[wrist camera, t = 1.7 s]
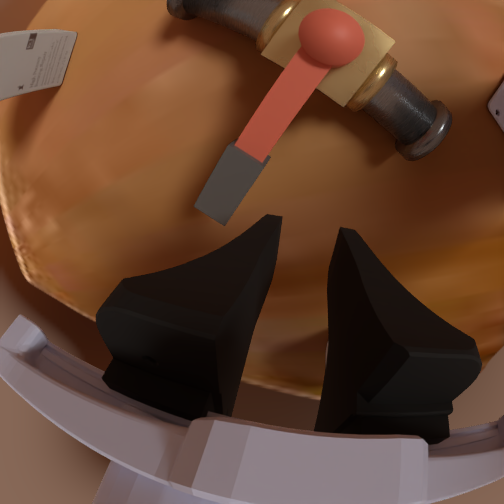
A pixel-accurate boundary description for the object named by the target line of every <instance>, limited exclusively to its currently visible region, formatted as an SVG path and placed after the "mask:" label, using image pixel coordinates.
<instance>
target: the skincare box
mask: <svg viewBox="0 0 504 504" xmlns="http://www.w3.org/2000/svg"><path fill="white" fill-rule="evenodd" d="M76 37H77V32H71V31H65V30H58V29H44V30H27V31H17V32H9V33H2V34H0V101H1V100H4V99H8V98H11V97H14V96H18V95H22V94H25V93H29V92H33V91H37V90H42V89H46V88H51V87H57V86H60V85H61V84H62V81H63V78H64V74H65V71H66V68H67V65H68V62H69V59H70V55H71V52H72V49H73V46H74V43H75V40H76Z"/></svg>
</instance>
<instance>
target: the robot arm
mask: <svg viewBox="0 0 504 504" xmlns="http://www.w3.org/2000/svg"><path fill="white" fill-rule="evenodd" d="M488 109H489V111H490V113H491V114H492V115H493V117H494V118H495V120H496V121H497V123H498V124H499V126H500V127H501V129H502V131H503V132H504V81H503V82H502V84H501V85H500V87H499V88H498V90H497V91H496V93H495V94H494V95H493V97H492V98H491V100H490V101H489V103H488ZM496 110H497V111H498V114H497V115H496ZM281 224H282V217H281V216H275V215H269V214H267V215H265V216H264V217H262V218H261V219H260V220H259V221H258V222H256V223H255V224H254V225H253V226H252V227H250V228H249V229H248V230H246V231H245V232H244V233H242V234H241V235H240V236H238V237H237V238H235V239H234V240H232V241H231V242H229V243H228V244H226V245H224V246H223V247H221V248H219V249H217V250H215V251H213V252H211V253H209V254H207V255H205V256H203V257H200V258H198V259H195V260H193V261H190V262H188V263H185V264H182V265H179V266H176V267H173V268H170V269H166V270H163V271H159V272H155V273H151V274H146V275H141V276H136V277H131V278H124V279H123V280H122V281H121V282H120V283H119V284H118V286H117V287H116V288H115V289H114V291H113V292H112V293H111V294H110V296H109V297H108V298H107V299H106V301H105V302H104V303H103V305H102V306H101V307H100V309H99V310H98V312H97V314H96V324H97V327H98V330H99V332H100V334H101V336H102V338H103V340H104V342H105V344H106V346H107V347H108V349H109V351H110V353H111V354H112V356H113V360H112V361H111V363H110V364H109V366H108V368H107V369H106V371H105V372H104V371H101V370H100V369H98V368H96V367H94V366H92V365H90V364H88V363H86V362H84V361H82V360H80V359H78V358H77V357H75V356H73V355H71V354H69V353H68V352H66V351H64V350H63V349H61V348H59V347H57V346H56V345H54V344H53V343H51V342H49V341H48V338H47V337H46V335H45V333H44V332H43V331H42V329H41V328H40V327H39V326H38V325H37V324H35V323H34V322H32V321H31V320H29V319H28V318H26V317H25V316H23V315H19V316H18V317H17V318H16V319H15V321H14V322H13V323H12V325H11V326H10V327H9V328H8V330H7V331H6V332H5V333H4V335H3V336H2V337H1V339H0V377H1V378H3V380H4V381H5V382H6V383H7V384H8V385H9V386H10V387H11V388H13V389H14V390H15V391H16V392H17V393H18V394H19V395H20V396H21V397H22V398H23V399H24V400H26V401H27V402H28V403H29V404H30V405H31V406H33V407H34V408H35V409H36V410H37V411H39V412H40V413H41V414H42V415H43V416H45V417H46V418H47V419H49V420H50V421H51V422H53V423H54V424H55V425H57V426H58V427H59V428H61V429H62V430H64V431H65V432H67V433H68V434H69V435H71V436H72V437H74V438H75V439H77V440H78V441H80V442H81V443H83V444H85V445H86V446H88V447H90V448H91V449H93V450H94V451H96V452H98V453H100V454H101V455H103V456H105V457H107V458H109V459H110V460H111V462H110V464H109V466H108V468H107V471H106V473H105V475H104V477H103V480H102V482H101V484H100V486H99V489H98V491H97V493H96V496H95V498H94V500H93V503H92V504H430V503H434V502H437V501H441V500H445V499H448V498H451V497H454V496H458V495H460V494H464V493H466V492H469V491H472V490H475V489H477V488H480V487H482V486H485V485H487V484H489V483H492V482H494V481H496V480H498V479H501V478H503V477H504V415H503V416H502V417H501V418H499V420H498V421H494V422H490V423H486V424H481V425H476V426H471V427H466V428H459V429H453V430H449V421H448V415H449V414H451V413H452V412H453V406H452V401H453V400H454V399H455V398H456V397H458V396H459V395H460V394H461V393H462V392H463V391H464V390H465V389H467V388H468V387H469V386H470V385H471V384H472V383H473V382H474V380H475V379H476V378H477V376H478V375H479V373H480V371H481V367H482V362H481V359H480V355H479V352H478V349H477V346H476V343H475V340H474V339H473V338H471V337H470V336H468V335H466V334H465V333H463V332H462V331H460V330H458V329H457V328H455V327H453V326H452V325H450V324H449V323H447V322H446V321H445V320H443V319H442V318H440V317H439V316H437V315H436V314H435V313H434V312H432V311H431V310H430V309H428V308H427V307H426V306H425V305H423V304H422V303H421V302H420V301H419V300H418V299H416V298H415V297H414V296H413V295H412V294H411V293H410V292H408V291H407V290H406V289H405V288H404V287H403V286H402V285H401V284H400V283H399V282H398V281H397V280H396V279H395V278H394V277H393V275H392V274H391V273H390V272H389V271H388V270H387V269H386V268H385V266H384V265H383V264H382V263H381V262H380V261H379V259H378V258H377V257H376V256H375V254H374V253H373V252H372V251H371V249H370V248H369V247H368V245H367V244H366V243H365V242H364V240H363V239H362V238H361V236H360V235H359V234H358V233H357V232H356V231H355V230H353V229H348V228H343V227H340V229H339V233H338V236H337V240H336V244H335V248H334V251H333V255H332V259H331V262H330V266H329V271H328V284H327V300H328V330H329V338H328V352H327V361H326V369H325V376H324V383H323V389H322V395H321V400H320V405H319V410H318V415H317V420H316V424H315V429H314V431H306V430H298V429H291V428H284V427H278V426H272V425H267V424H261V423H256V422H251V421H246V420H242V419H237V418H233V417H231V416H232V412H233V408H234V404H235V400H236V396H237V392H238V388H239V384H240V381H241V377H242V373H243V369H244V365H245V361H246V358H247V354H248V350H249V346H250V342H251V339H252V335H253V331H254V328H255V325H256V322H257V319H258V317H259V314H260V311H261V309H262V306H263V303H264V301H265V298H266V295H267V292H268V290H269V287H270V284H271V281H272V278H273V274H274V269H275V265H276V260H277V253H278V246H279V239H280V232H281Z"/></svg>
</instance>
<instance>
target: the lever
mask: <svg viewBox="0 0 504 504" xmlns="http://www.w3.org/2000/svg"><path fill="white" fill-rule="evenodd" d="M298 34H299V40H300V43H301V47H300V48H299V50H298V51H297V53H296V54H295V55H294V57H293V58H292V59H291V61H290V62H289V63H288V65H287V66H286V68H285V69H284V70H283V72H282V73H281V75H280V76H279V78H278V79H277V80H276V82H275V83H274V85H273V86H272V88H271V89H270V91H269V92H268V94H267V95H266V96H265V98H264V99H263V101H262V102H261V104H260V105H259V107H258V109H257V110H256V112H255V113H254V115H253V116H252V118H251V119H250V121H249V122H248V124H247V126H246V127H245V129H244V130H243V132H242V133H241V135H240V137H239V138H237V139H236V140H234V141H233V142H232V143H230V144H229V145H228V146H227V148H226V150H225V151H224V153H223V155H222V156H221V158H220V160H219V161H218V163H217V165H216V167H215V168H214V170H213V172H212V174H211V175H210V177H209V179H208V181H207V183H206V184H205V186H204V188H203V190H202V192H201V194H200V195H199V197H198V199H197V201H196V203H195V205H194V207H195V208H197V209H198V210H200V211H202V212H203V213H205V214H206V215H208V216H209V217H211V218H212V219H214V220H216V221H217V222H219V223H220V224H222V225H223V226H225V225H226V224H227V222H228V221H229V219H230V217H231V216H232V214H233V213H234V211H235V210H236V208H237V207H238V205H239V204H240V202H241V201H242V199H243V198H244V196H245V195H246V193H247V192H248V191H249V189H250V188H251V186H252V185H253V183H254V182H255V180H256V179H257V177H258V176H259V174H260V173H261V172H262V170H263V169H264V167H265V166H266V164H267V162H268V161H269V159H270V158H271V157H270V156H269V155H268V154H269V152H270V151H271V150H272V148H273V147H274V145H275V144H276V142H277V141H278V140H279V138H280V137H281V135H282V134H283V132H284V131H285V130H286V128H287V127H288V125H289V124H290V123H291V121H292V120H293V118H294V117H295V116H296V114H297V113H298V112H299V110H300V109H301V107H302V106H303V105H304V103H305V102H306V101H307V99H308V98H309V97H310V95H311V94H312V92H313V91H314V90H315V88H316V87H317V86H318V84H319V83H320V82H321V80H322V79H323V78H324V77H325V75H326V74H327V73H328V71H329V70H330V69H331V68H339V67H343V66H345V65H347V64H349V63H350V62H352V61H353V60H354V59H356V58H357V57H358V56H359V55H360V53H361V52H362V50H363V48H364V43H365V37H364V33H363V30H362V28H361V26H360V25H359V23H358V22H357V21H356V20H355V19H354V18H353V17H351V16H350V15H349V14H347V13H345V12H343V11H340V10H337V9H330V8H324V9H318V10H315V11H313V12H311V13H309V14H308V15H306V16H305V17H304V18H303V20H302V21H301V23H300V26H299V31H298Z"/></svg>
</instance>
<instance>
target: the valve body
mask: <svg viewBox="0 0 504 504" xmlns="http://www.w3.org/2000/svg"><path fill="white" fill-rule="evenodd" d="M324 8H330V9H337V10H340V11H343V12H345V13H347V14H349V15H350V16H351V17H353V18H354V19H355V20H356V21H357V22H358V23H359V25H360V26H361V28H362V30H363V33H364V37H365V43H364V48H363V50H362V52H361V53H360V55H359V56H358V57H357V58H356V59H354V60H353V61H352V62H350V63H349V64H347V65H345V66H343V67H339V68H331V69H330V70H329V71H328V73H327V74H326V75H325V77H324V78H323V79H322V80H321V82H320V83H319V84H318V86H317V87H316V89H318V90H319V91H321V92H322V93H323V94H325V95H326V96H328V97H329V98H331V99H332V100H333V101H335V102H336V103H338V104H339V105H341V106H342V107H344V106H347V107H348V108H349V109H351V110H352V111H353V112H357V111H359V110H360V109H362V108H363V107H364V106H365V105H366V104H367V103H369V102H370V101H371V100H372V98H373V97H374V96H375V95H376V94H377V93H378V92H379V91H380V90H381V88H382V87H383V86H384V85H385V83H386V82H387V81H388V79H389V78H390V77H391V75H392V74H393V72H394V70H395V68H396V66H397V61H396V60H395V59H394V58H393V57H391V56H390V55H389V54H388V53H387V52H388V51H389V49H390V48H391V47H392V46H393V45H394V43H395V41H394V40H393V39H392V38H390V37H389V36H388V35H386V34H385V33H384V32H382V31H381V30H380V29H378V28H377V27H376V26H374V25H373V24H371V23H370V22H369V21H367V20H366V19H364V18H363V17H361V16H360V15H358V14H357V13H355V12H354V11H352V10H350V9H349V8H347V7H346V6H344V5H342V4H340V3H339V2H337V1H335V0H283V1H282V2H281V3H279V5H278V6H277V7H276V8H275V9H274V10H273V11H272V13H271V14H270V15H269V17H268V18H267V20H266V21H265V23H264V24H263V26H262V28H261V30H260V32H259V35H258V37H257V40H256V49H257V50H258V51H260V52H262V53H261V55H262V56H264V57H266V58H267V59H269V60H271V61H272V62H274V63H276V64H278V65H279V66H281V67H283V68H284V69H285V68H286V66H287V65H288V63H289V62H290V61H291V59H292V58H293V57H294V55H295V54H296V53H297V51H298V50H299V48H300V47H301V43H300V40H299V34H298V31H299V26H300V23H301V21H302V20H303V18H304V17H305V16H306V15H308V14H309V13H311V12H313V11H315V10H318V9H324Z"/></svg>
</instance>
